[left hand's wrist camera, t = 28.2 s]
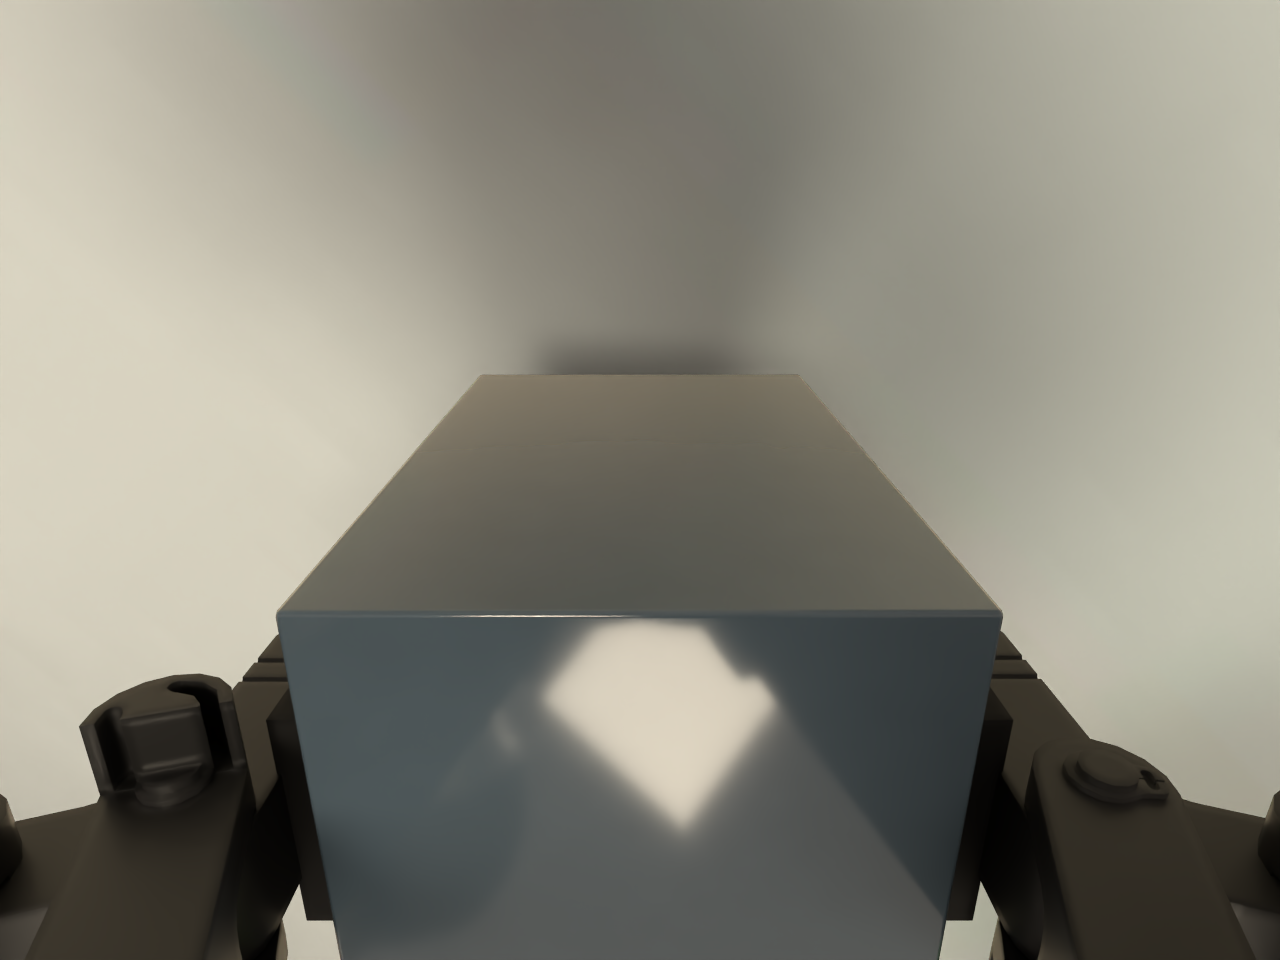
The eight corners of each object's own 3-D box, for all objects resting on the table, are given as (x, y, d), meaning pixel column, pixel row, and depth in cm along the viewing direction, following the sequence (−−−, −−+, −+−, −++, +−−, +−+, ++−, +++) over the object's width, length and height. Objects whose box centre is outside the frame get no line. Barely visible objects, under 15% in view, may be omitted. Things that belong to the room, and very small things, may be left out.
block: (799, 373, 14) (1006, 612, 6) (779, 653, 16) (914, 1101, 8) (479, 373, 14) (271, 611, 6) (500, 653, 16) (365, 1102, 8)
